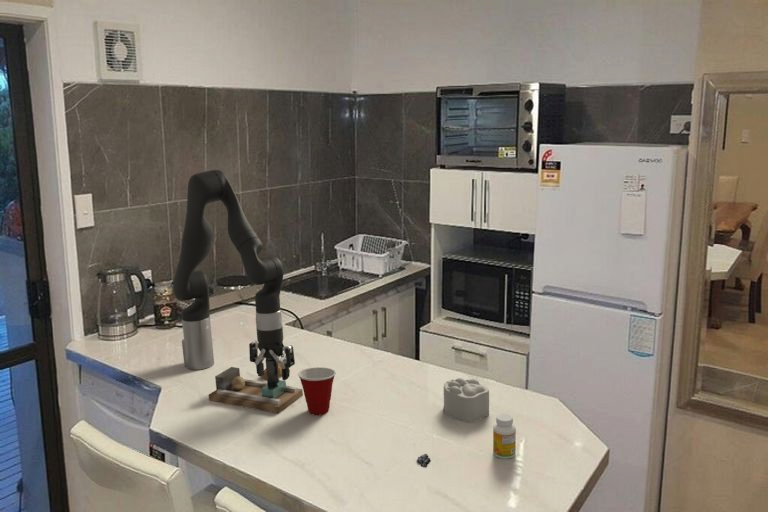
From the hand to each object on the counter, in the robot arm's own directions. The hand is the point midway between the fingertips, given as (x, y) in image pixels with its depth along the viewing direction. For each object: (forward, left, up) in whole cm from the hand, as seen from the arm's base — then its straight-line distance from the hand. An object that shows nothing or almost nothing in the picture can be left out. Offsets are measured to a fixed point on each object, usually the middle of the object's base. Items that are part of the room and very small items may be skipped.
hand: (273, 377), depth 188 cm
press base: (-7, 0, -8) cm, 10 cm away
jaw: (0, 0, -5) cm, 5 cm away
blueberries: (+54, -16, -8) cm, 57 cm away
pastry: (-11, +18, -8) cm, 22 cm away
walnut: (-13, 0, -4) cm, 13 cm away
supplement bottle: (+71, -6, -8) cm, 71 cm away
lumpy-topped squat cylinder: (+55, +13, -8) cm, 57 cm away
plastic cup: (+16, -1, -8) cm, 18 cm away
